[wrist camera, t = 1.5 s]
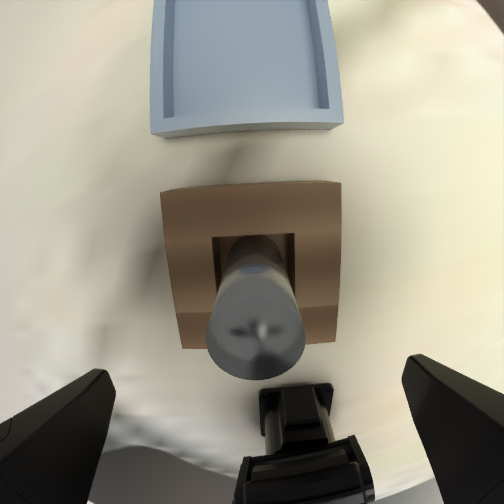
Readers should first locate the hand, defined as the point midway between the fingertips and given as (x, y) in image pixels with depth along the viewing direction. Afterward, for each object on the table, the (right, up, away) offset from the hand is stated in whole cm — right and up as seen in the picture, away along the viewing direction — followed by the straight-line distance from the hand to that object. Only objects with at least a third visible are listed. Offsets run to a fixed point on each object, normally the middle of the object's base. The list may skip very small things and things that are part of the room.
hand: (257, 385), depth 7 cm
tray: (-1, +18, +9) cm, 20 cm away
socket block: (0, +3, +13) cm, 13 cm away
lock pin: (0, +3, +12) cm, 13 cm away
